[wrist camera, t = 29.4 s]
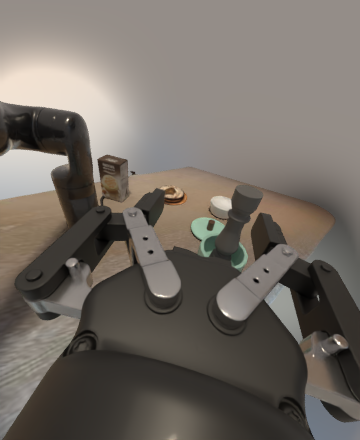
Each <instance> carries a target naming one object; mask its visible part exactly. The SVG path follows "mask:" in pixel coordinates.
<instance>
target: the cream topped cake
mask: <svg viewBox="0 0 360 440" xmlns="http://www.w3.org/2000/svg"><path fill="white" fill-rule="evenodd" d="M159 189H162V190H165V199H164V203H165V204H169V205H178V204H182V203H184V202H185V201H186V200H187V196H186V194H185V193H184V191H183V190H182V189H179V188H177V187H175V186H171V185H170V186H166V185H165V186H162V187H160V188H159Z"/></svg>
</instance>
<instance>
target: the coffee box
mask: <svg viewBox="0 0 360 440" xmlns="http://www.w3.org/2000/svg"><path fill="white" fill-rule="evenodd" d="M98 166H99V173H100V180H101V187H102V194H103V196H105V198H109V199H112V200H116V201H119V202H123V201H124V200H125V199H126V198H127V197H128V196H129V189H128V161H127V160H126V159H121V158H118V157H114V156H110V155H105V156H103V157H101V158H99V159H98Z"/></svg>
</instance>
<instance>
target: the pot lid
mask: <svg viewBox="0 0 360 440" xmlns="http://www.w3.org/2000/svg"><path fill="white" fill-rule="evenodd" d="M224 227H225V226H224V225H223V224H222V223H220V222H219V221H217V220H215V219H211V218H198V219H196V220H194V221H193V222H192V224H191V230H192V232H193V234H194V235H195V236H196V237H197V238H198V239H200V240H202V239H203V238H204V237H205V236H207V235H209V234H214V233H219V234H220V232H221V231H222V230H223V228H224Z"/></svg>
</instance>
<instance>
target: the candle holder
mask: <svg viewBox="0 0 360 440" xmlns="http://www.w3.org/2000/svg"><path fill="white" fill-rule="evenodd" d="M262 197H263V193H262V192H261V191H260V190H258V189H256V188H254V187H251V186H247V185H239V186H237V187H236V188H235V191H234V194H233V196H232V199H231V205H232V209H229V211H228V217H229V218H228V221H227V223H226V226H225V227H224V228H223V230H222V231H221V232H220V234H219V235H218V236H217V238H216V239H215V247H216V248H215V249H213V251H212V252H211V254H210V255H209V257H217V258H221V259H225V260H228V261H231V259H232V257H231V255H232V254H234V253H235V252H236V251H237V249H238V247H239V241H240V234H241V230H242V228H243V226H244V224H246V223H248V222H249V221H250V219H251V218H250V214H251V213H253V212H254V211H255V210H256V209H257V207H258V205H259V203H260V201H261V199H262Z"/></svg>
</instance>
